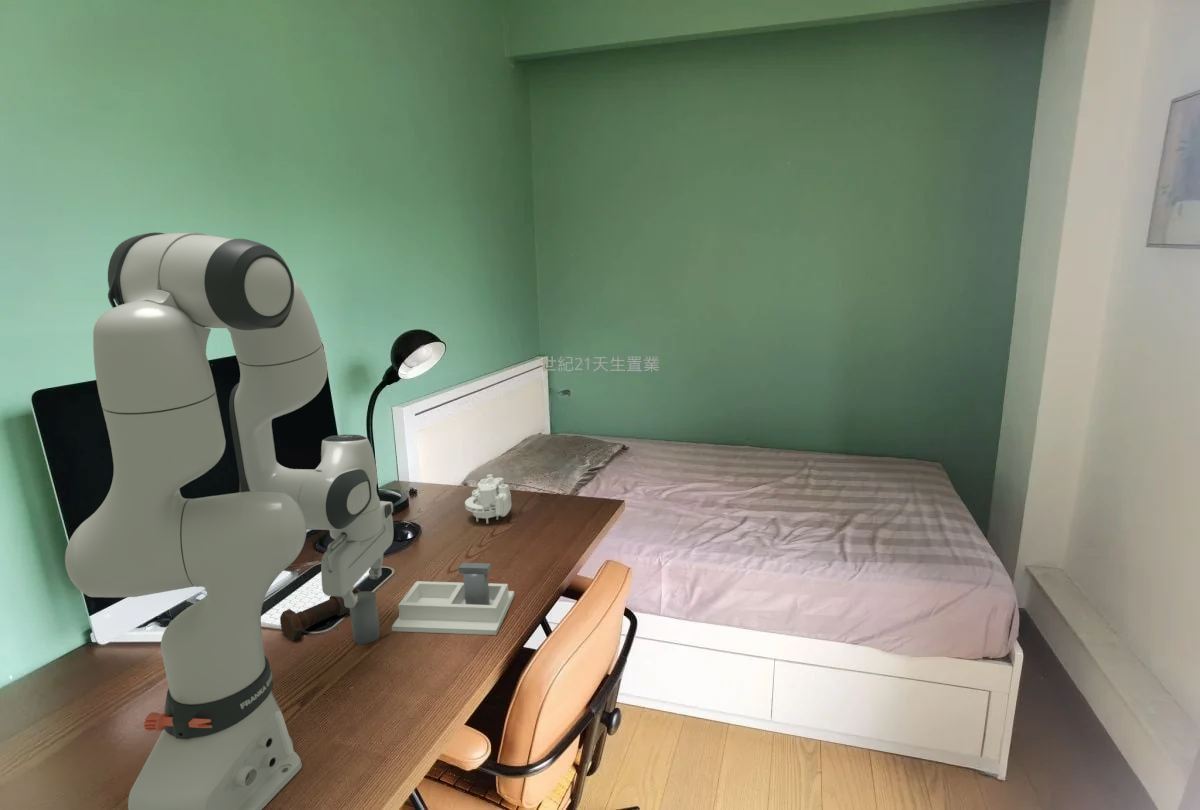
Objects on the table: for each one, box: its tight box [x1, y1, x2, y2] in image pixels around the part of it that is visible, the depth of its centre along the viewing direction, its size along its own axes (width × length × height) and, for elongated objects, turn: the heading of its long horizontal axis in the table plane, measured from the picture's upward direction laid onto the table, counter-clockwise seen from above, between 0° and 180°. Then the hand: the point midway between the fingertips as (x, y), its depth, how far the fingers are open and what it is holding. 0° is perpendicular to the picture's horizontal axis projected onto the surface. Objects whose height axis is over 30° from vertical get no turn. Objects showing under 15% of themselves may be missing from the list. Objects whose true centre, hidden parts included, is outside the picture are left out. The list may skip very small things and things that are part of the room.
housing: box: [391, 562, 515, 636], centre depth 123 cm, size 14×20×10 cm
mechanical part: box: [464, 474, 512, 524], centre depth 167 cm, size 11×12×12 cm
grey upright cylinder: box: [349, 590, 381, 645], centre depth 116 cm, size 5×5×8 cm
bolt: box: [279, 587, 362, 641], centre depth 123 cm, size 6×5×15 cm
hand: (364, 590), depth 116 cm, fingers open, 8 cm apart
